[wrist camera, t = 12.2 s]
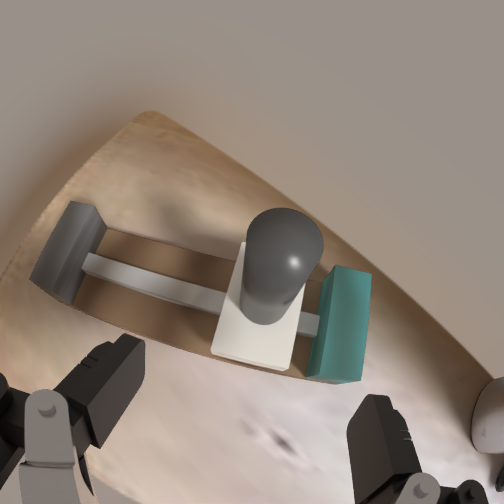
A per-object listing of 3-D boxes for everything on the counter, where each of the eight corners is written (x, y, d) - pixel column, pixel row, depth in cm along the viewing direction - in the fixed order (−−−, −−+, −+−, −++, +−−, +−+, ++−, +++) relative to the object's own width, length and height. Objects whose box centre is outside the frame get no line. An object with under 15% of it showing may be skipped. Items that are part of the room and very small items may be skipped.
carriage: (303, 269, 22) (347, 185, 13) (282, 371, 18) (331, 348, 10) (240, 254, 22) (249, 160, 14) (212, 354, 19) (195, 316, 10)
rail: (348, 296, 25) (371, 274, 20) (335, 384, 21) (360, 380, 16) (90, 230, 26) (70, 200, 21) (57, 300, 22) (29, 279, 18)
